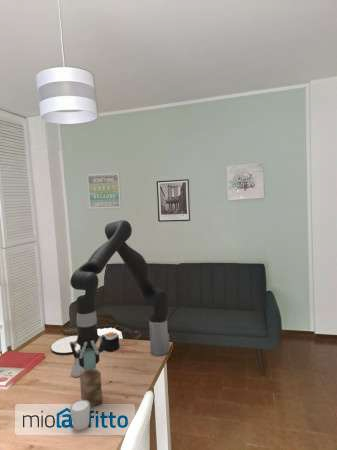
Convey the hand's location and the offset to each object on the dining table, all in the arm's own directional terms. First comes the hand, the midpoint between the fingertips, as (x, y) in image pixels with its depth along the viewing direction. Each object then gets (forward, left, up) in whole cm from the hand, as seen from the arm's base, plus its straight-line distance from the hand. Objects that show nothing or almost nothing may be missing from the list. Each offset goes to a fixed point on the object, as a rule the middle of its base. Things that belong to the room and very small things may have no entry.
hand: (89, 364), depth 122 cm
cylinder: (0, 0, -1) cm, 1 cm away
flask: (+1, -24, -15) cm, 28 cm away
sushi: (-19, -41, -15) cm, 48 cm away
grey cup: (+6, +11, -15) cm, 20 cm away
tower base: (0, 0, -15) cm, 15 cm away
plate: (0, -55, -16) cm, 57 cm away
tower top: (0, 0, -9) cm, 9 cm away
